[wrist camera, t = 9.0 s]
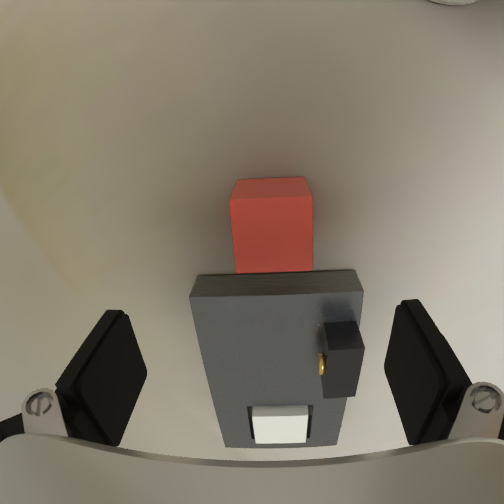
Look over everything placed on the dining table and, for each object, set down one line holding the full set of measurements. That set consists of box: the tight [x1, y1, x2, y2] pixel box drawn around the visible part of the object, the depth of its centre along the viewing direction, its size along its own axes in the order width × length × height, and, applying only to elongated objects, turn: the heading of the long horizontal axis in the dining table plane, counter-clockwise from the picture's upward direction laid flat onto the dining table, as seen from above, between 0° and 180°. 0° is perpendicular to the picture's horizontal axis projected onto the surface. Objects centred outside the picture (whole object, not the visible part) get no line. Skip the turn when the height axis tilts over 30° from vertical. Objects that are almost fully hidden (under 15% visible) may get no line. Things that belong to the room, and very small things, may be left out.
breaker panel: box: [189, 270, 365, 448], centre depth 26 cm, size 12×20×6 cm, turn 4°
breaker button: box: [252, 405, 308, 444], centre depth 28 cm, size 5×5×3 cm
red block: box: [229, 177, 313, 273], centre depth 20 cm, size 4×4×5 cm
